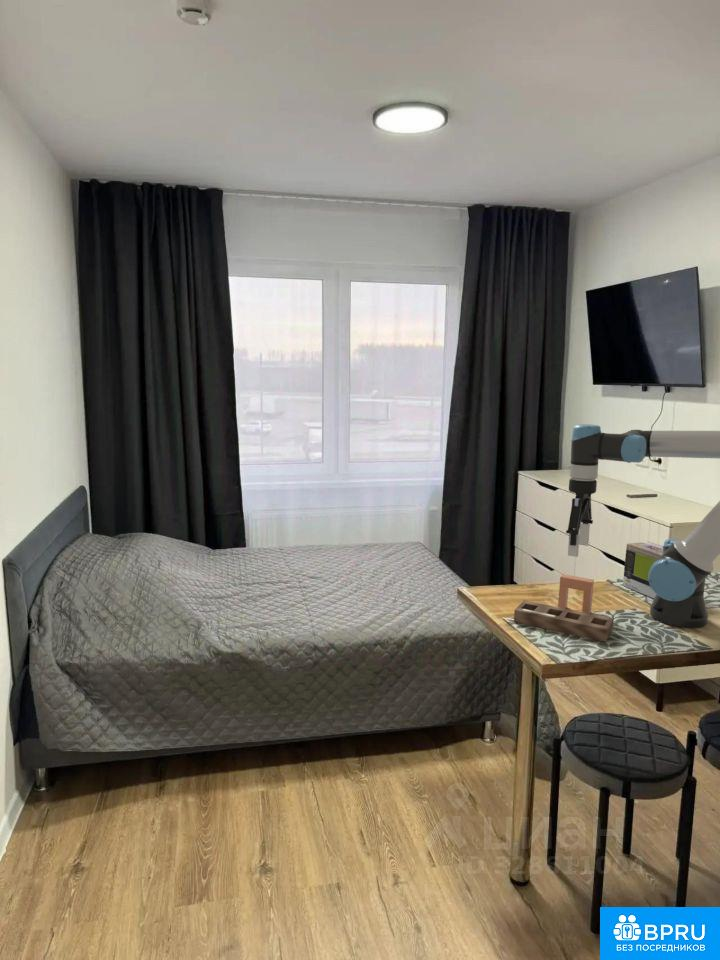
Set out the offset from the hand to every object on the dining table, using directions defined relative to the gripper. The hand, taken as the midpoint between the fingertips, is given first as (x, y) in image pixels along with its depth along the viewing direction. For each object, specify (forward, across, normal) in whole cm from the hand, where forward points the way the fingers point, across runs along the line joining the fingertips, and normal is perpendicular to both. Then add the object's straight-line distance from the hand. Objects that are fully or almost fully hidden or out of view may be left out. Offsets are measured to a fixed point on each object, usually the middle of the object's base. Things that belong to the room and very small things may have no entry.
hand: (578, 550), depth 193 cm
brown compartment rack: (+18, +14, 0) cm, 23 cm away
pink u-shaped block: (+18, 0, 0) cm, 19 cm away
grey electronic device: (+19, -31, +17) cm, 40 cm away
